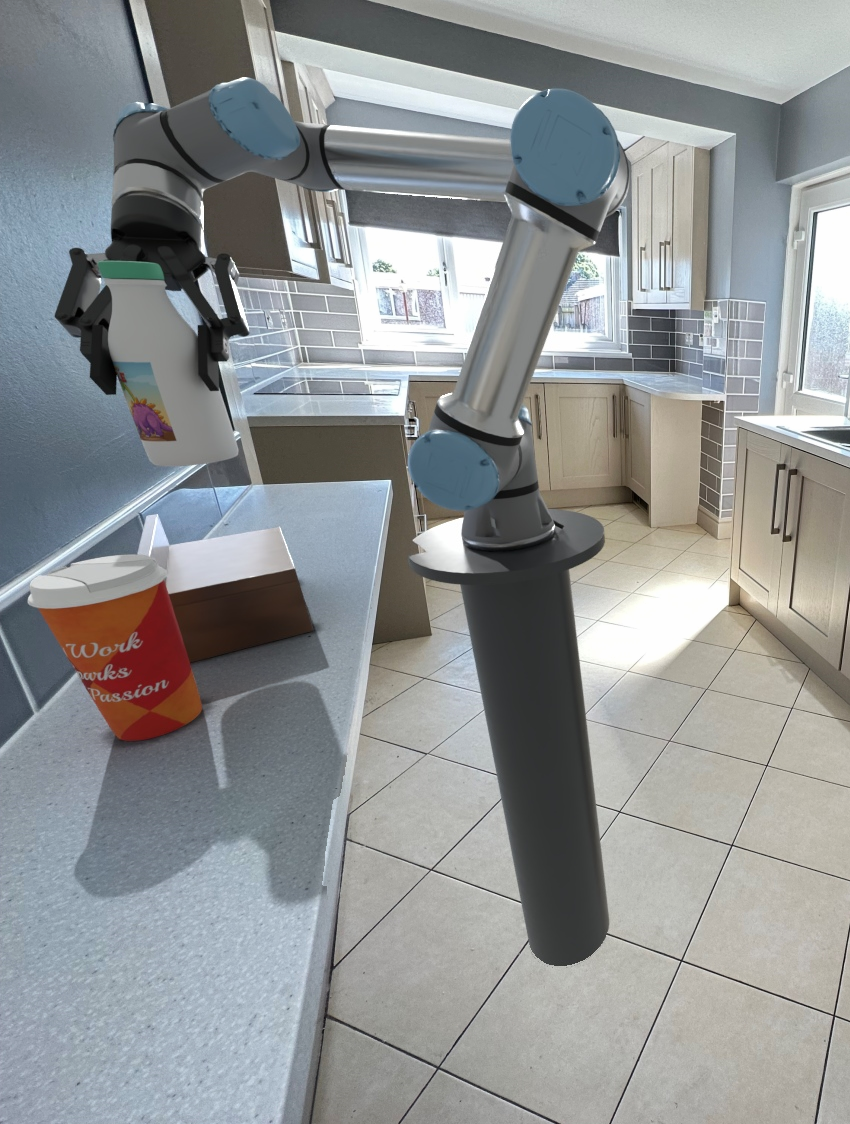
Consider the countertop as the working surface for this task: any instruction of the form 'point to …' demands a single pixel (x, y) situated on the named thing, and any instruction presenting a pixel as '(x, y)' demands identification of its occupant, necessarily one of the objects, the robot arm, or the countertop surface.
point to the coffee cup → (122, 641)
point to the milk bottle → (163, 371)
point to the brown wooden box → (229, 589)
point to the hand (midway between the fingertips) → (157, 384)
